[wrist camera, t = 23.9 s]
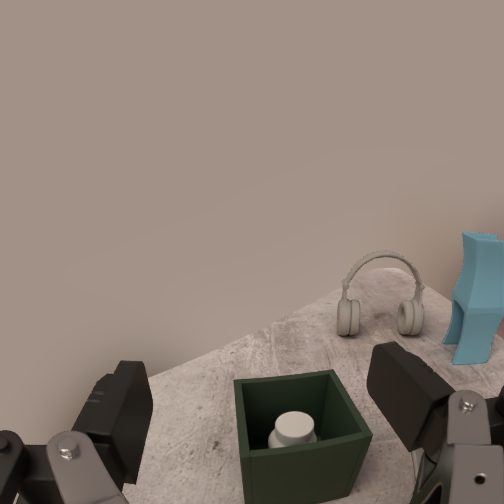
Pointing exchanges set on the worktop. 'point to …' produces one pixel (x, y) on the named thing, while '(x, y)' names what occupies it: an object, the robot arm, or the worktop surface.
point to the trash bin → (304, 455)
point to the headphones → (408, 311)
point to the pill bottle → (292, 430)
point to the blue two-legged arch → (477, 299)
